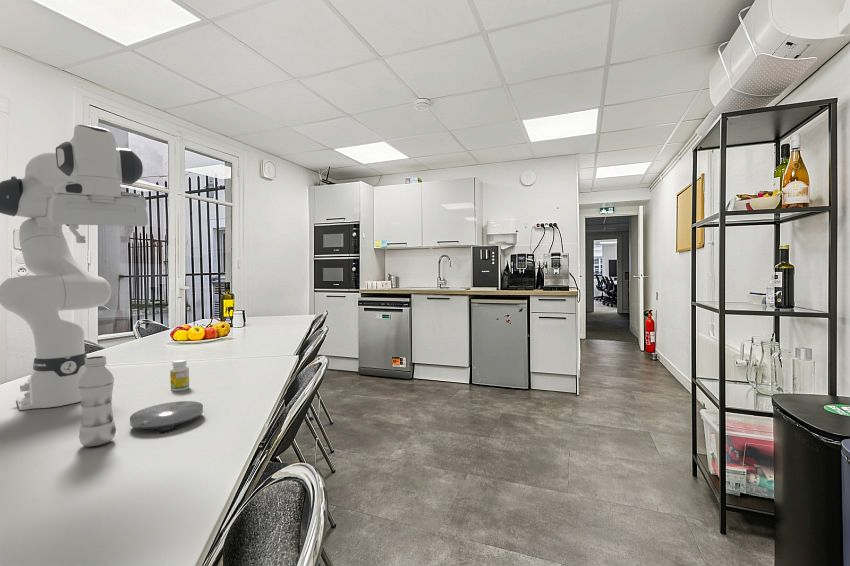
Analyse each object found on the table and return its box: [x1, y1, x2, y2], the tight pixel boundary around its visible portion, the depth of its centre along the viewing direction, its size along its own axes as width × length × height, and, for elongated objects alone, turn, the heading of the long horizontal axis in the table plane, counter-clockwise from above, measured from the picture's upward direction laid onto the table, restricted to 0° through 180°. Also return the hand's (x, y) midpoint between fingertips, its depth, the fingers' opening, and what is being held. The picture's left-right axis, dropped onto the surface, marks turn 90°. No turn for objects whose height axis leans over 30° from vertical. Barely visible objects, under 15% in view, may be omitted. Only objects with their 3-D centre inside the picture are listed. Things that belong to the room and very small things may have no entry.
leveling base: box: [129, 400, 204, 434], centre depth 102 cm, size 16×16×3 cm
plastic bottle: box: [77, 355, 117, 448], centre depth 89 cm, size 6×7×20 cm
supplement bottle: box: [169, 359, 190, 392], centre depth 132 cm, size 5×5×10 cm
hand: (103, 242), depth 103 cm, fingers open, 8 cm apart
